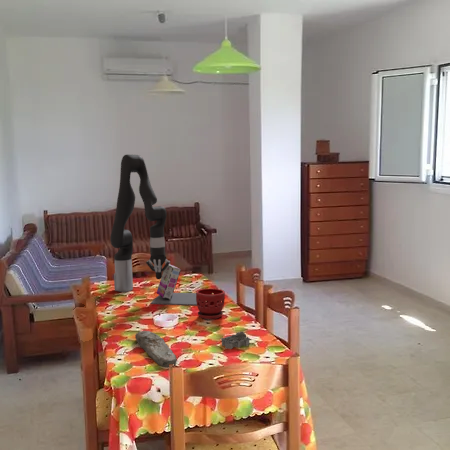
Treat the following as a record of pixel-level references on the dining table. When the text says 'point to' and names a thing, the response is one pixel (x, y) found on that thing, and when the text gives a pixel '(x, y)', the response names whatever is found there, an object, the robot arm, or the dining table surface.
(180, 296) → the rubber mat
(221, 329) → the dining table surface
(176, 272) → the candy bar box
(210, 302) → the plant pot
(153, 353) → the long grey stone
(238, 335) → the egg carton
